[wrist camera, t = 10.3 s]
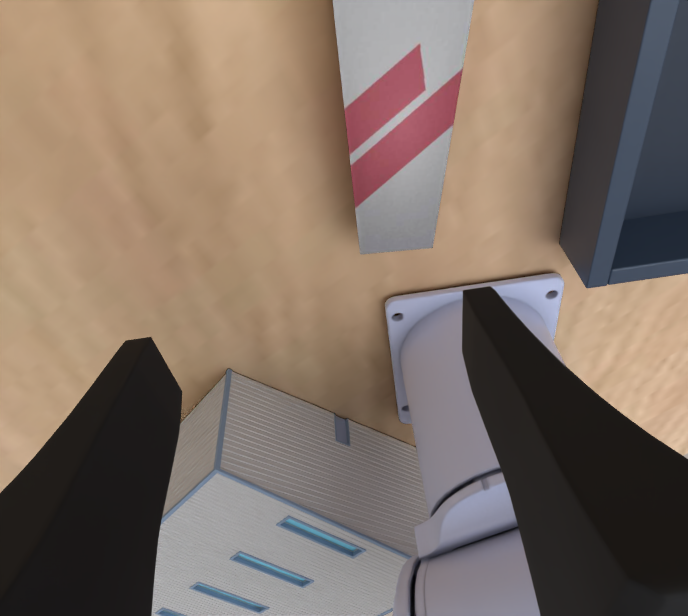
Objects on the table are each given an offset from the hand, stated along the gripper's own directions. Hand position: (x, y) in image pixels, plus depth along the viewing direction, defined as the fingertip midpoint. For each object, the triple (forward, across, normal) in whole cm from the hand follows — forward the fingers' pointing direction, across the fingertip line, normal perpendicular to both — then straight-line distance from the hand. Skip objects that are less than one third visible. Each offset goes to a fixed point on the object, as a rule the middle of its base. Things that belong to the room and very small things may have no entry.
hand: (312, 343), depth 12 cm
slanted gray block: (+9, +12, +26) cm, 30 cm away
